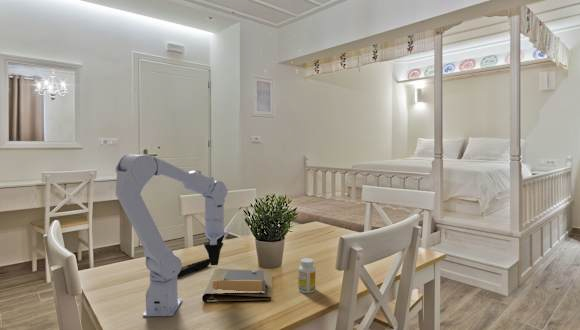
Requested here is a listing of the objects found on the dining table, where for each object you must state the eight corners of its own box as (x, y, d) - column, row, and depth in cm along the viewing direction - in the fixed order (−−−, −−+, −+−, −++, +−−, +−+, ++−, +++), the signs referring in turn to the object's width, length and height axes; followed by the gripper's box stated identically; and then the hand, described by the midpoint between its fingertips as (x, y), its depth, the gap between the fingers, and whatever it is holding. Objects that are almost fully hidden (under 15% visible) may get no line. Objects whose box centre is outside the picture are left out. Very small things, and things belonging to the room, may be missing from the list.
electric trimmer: (212, 267, 129) (212, 259, 129) (175, 279, 117) (175, 270, 117) (206, 265, 131) (206, 257, 131) (169, 277, 119) (169, 268, 119)
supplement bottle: (299, 293, 105) (299, 263, 105) (297, 286, 111) (297, 257, 110) (316, 293, 106) (316, 262, 105) (313, 285, 111) (314, 257, 111)
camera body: (262, 292, 106) (262, 278, 106) (223, 292, 106) (223, 278, 106) (263, 280, 115) (263, 267, 115) (228, 281, 115) (228, 268, 115)
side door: (265, 294, 105) (265, 281, 104) (212, 294, 104) (212, 281, 104) (265, 292, 106) (265, 279, 106) (213, 292, 106) (213, 279, 105)
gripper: (226, 223, 101) (227, 268, 102) (228, 213, 116) (228, 252, 116) (202, 224, 100) (202, 269, 101) (206, 213, 115) (207, 253, 115)
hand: (215, 260), depth 109 cm, fingers open, 7 cm apart
